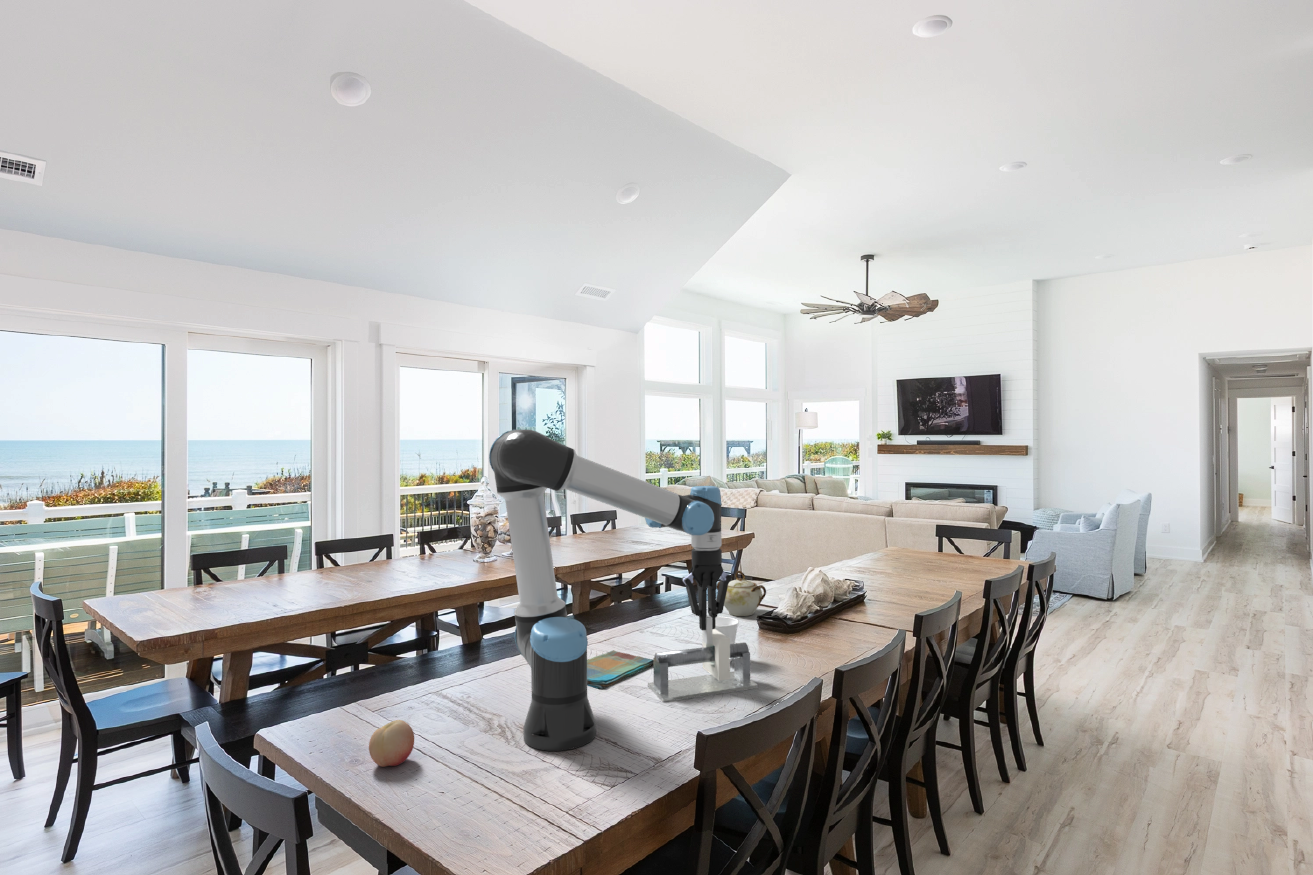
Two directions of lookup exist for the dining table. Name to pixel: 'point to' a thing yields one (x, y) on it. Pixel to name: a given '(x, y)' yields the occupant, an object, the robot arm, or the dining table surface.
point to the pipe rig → (700, 684)
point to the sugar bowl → (743, 596)
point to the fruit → (391, 743)
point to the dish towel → (613, 668)
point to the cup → (727, 627)
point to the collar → (719, 656)
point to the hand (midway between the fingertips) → (707, 642)
